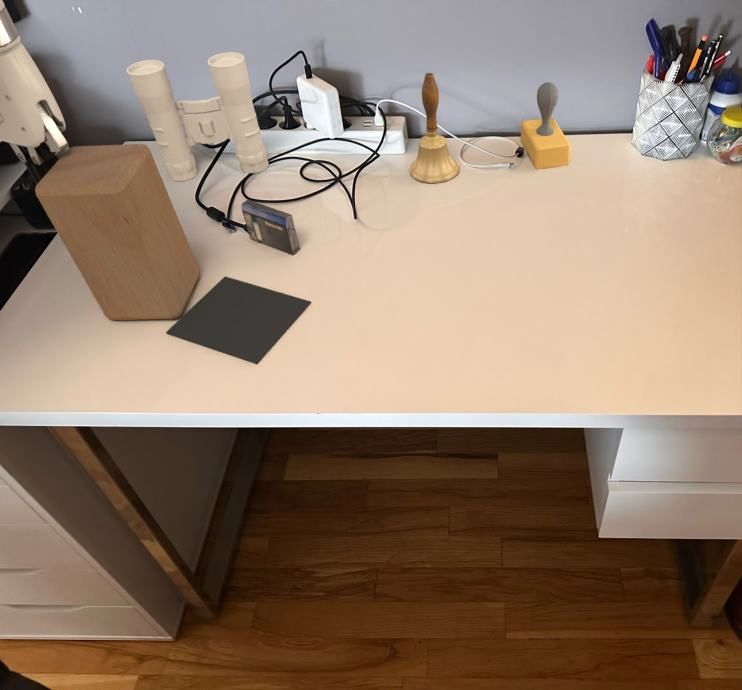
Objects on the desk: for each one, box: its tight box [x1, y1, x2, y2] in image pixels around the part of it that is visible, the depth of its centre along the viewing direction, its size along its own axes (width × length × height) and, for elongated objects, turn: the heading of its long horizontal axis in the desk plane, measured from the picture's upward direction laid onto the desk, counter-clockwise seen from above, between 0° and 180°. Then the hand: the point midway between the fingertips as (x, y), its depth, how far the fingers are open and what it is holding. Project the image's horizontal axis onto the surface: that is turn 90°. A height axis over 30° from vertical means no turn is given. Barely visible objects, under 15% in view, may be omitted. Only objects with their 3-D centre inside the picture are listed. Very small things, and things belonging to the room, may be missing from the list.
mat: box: [165, 275, 312, 365], centre depth 87 cm, size 12×14×1 cm
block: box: [34, 143, 200, 321], centre depth 83 cm, size 10×10×20 cm
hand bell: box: [408, 72, 460, 184], centre depth 106 cm, size 8×8×16 cm
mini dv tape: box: [240, 199, 301, 256], centre depth 96 cm, size 8×2×6 cm, turn 60°
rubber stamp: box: [520, 81, 571, 170], centre depth 110 cm, size 10×6×12 cm, turn 11°
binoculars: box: [126, 51, 269, 182], centre depth 107 cm, size 17×5×18 cm, turn 100°
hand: (55, 186), depth 82 cm, fingers closed
